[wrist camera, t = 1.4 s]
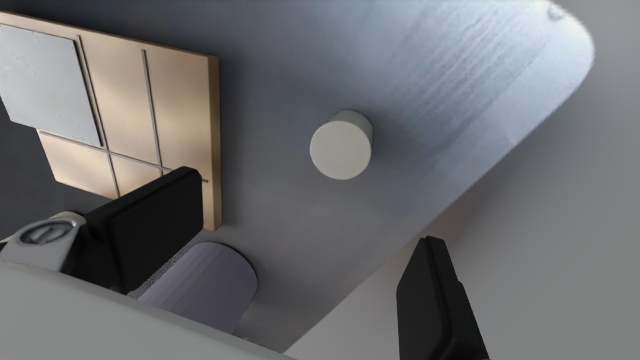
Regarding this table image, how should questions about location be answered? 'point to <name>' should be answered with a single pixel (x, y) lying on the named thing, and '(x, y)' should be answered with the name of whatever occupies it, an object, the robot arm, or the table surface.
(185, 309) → the container
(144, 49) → the board
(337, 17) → the table surface
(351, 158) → the white squat cylinder
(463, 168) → the table surface
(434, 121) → the table surface
